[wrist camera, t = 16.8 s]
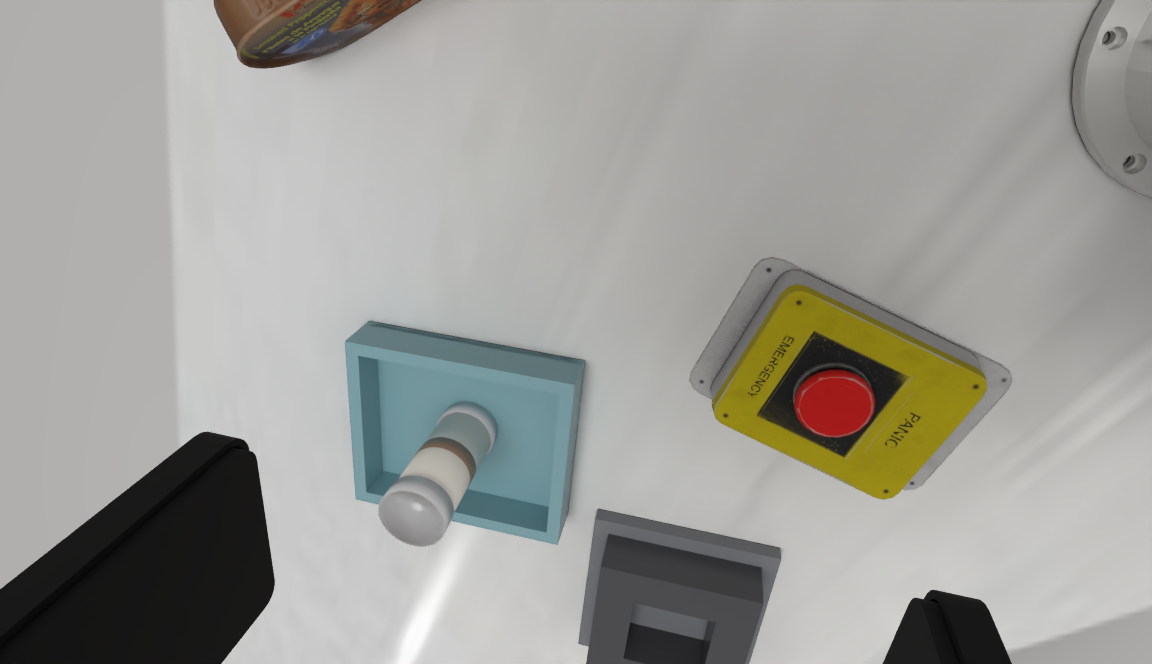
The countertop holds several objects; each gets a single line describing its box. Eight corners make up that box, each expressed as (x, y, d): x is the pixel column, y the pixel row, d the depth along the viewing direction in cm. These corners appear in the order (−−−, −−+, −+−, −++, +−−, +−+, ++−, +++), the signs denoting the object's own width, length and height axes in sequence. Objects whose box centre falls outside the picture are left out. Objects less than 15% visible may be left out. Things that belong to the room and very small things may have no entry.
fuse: (499, 407, 43) (445, 498, 35) (496, 455, 44) (445, 553, 36) (442, 396, 43) (377, 482, 35) (442, 444, 45) (379, 537, 37)
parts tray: (584, 360, 40) (574, 384, 38) (567, 514, 46) (557, 544, 43) (369, 320, 43) (344, 341, 40) (376, 472, 48) (355, 499, 45)
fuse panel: (780, 548, 43) (784, 595, 40) (742, 672, 49) (743, 723, 45) (598, 508, 45) (586, 551, 42) (581, 632, 50) (569, 679, 47)
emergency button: (766, 275, 32) (1051, 412, 32) (763, 247, 36) (1017, 369, 36) (678, 419, 36) (928, 540, 36) (683, 380, 40) (910, 489, 40)
